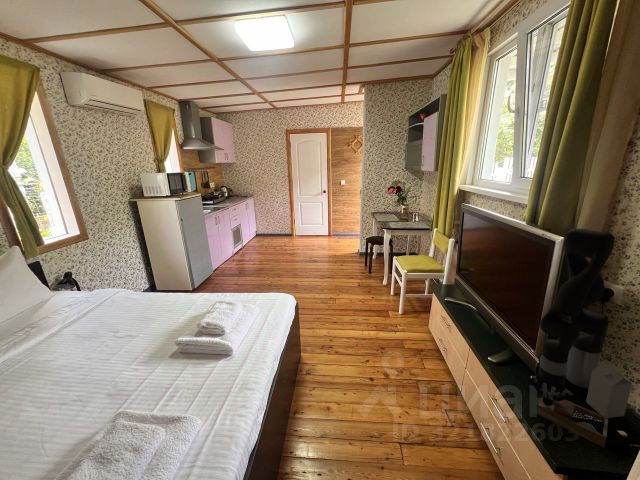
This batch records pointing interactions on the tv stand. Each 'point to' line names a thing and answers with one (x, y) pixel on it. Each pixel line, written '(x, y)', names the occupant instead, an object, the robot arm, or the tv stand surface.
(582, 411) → the wooden tray
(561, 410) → the walnut block
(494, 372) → the tv stand surface
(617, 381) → the milk carton
